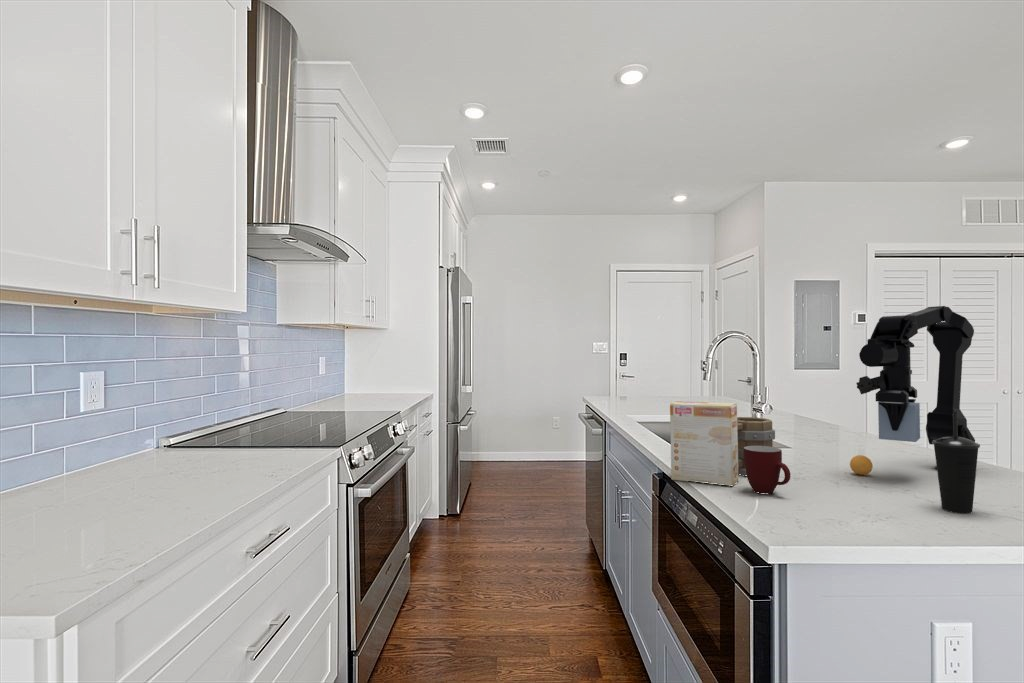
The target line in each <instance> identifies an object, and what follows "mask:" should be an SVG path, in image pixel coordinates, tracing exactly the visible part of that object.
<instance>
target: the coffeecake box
mask: <svg viewBox="0 0 1024 683" xmlns="http://www.w3.org/2000/svg"><path fill="white" fill-rule="evenodd" d="M737 417H738V404H737V403H736V402H735V403H734V402H733V403H732V402H705V401H700V402H699V401H682V400H681V401H675V402H671V403H670V404H669V420H670V423H669V424H670V425H669V426H670V427H669V428H670V429H669V430H670V469H671V470H670V471H671V472H670V473H671V474H670V475H671V476H670V478H671V480H672V481H679V482H688V481H698V482H708V483H717V484H724V485H734V484H735V483H736V482H737V481H738V482H739V475H738V433H737ZM738 482H737V483H738ZM737 483H736V484H737ZM736 484H735V485H736ZM735 485H734V486H735Z"/></svg>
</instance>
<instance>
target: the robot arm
mask: <svg viewBox="0 0 1024 683" xmlns="http://www.w3.org/2000/svg"><path fill="white" fill-rule="evenodd" d="M923 328H926V331H927V332H928V333H929V334H930V336H931V337H932V344H933V345H934V347H935V348H936V350H937V351H938V353H939V360H938V361H939V363H938V378H937V395H936V407H935V408H934V409H933V410H932V411H928V413H927V414H926V425H925V432H926V436H927V439H928V444H929V445H933V444H932V441H933V440H937V439H939V438H942V437H949V436H953V411H957V434H958V437H962V438H966V439H969V440H971V441H973V442H975V443H976V439H975V437H974V436H973V434H972V433H971V430H970V429H969V428H968V420H967V418H966V416H965V415H964V413H963V412H962V410H961V406H960V405H961V393H962V392H961V391H962V389H961V388H962V372H963V371H962V370H963V357H964V356H963V355H964V353H966V352H967V350H968V349H969V348H970V347H971V345H972V340H973V337H974V336H975V329H974V326H973V325H972V324H971V323H970V321H969V320H968V319H967V318H966V317H965V316H963V315H962V314H961V315H960V314H959V313H956V312H954V311H953V310H952V309H951V308H950V307H949V306H946V305H941V306H940V305H939V306H936V305H935V306H928V307H925V308H924V309H921V310H918V311H913V312H912V313H909V314H905V315H904V314H903V315H886V316H885V315H884V316H881V317H879V319H878V322H877V323H876V324H875V327H874V329H873V332H872V334H871V336H870V338H867V340H866V341H867V343H866V344H865V345H863V347H861V349H860V352H859V354H858V356H859V359H860V362H861V363H862V364H863V365H865V366H866V367H869V368H876V367H880V368H881V367H882V369H881V370H880V371H879V376H875V377H872V378H870V377H869V376H867V375H865V376H862V377H858V378H859V379H858V382H856V389H858V391H859V393H860V395H864V394H867V393H870V392H873V391H876V390H878V391H877V392H875V402H877V405H878V404H880V405H881V406H883V407H884V408H885V409H886V411H887V414H888V418H889V421H890V424H891V428H892V430H893V431H897V430H898V429H899V426H900V424H901V422H902V419H903V417H904V414H905V412H906V410H907V407H908V405H909V403H907V402H913V403H916V401H917V400H916V398H918V390H917V389H916V388H915V387H914V386H912V383H911V382H912V380H911V379H912V375H913V370H912V368H911V348H915V344H914V343H913V342H912V341H910V339H911V338H913V337H914V336H915V335H917V334H918V333H919V332H918V331H919V330H920V329H923ZM934 469H935V470H937V465H936V466H934Z"/></svg>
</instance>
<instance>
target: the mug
mask: <svg viewBox="0 0 1024 683" xmlns="http://www.w3.org/2000/svg"><path fill="white" fill-rule="evenodd" d="M744 463H745V469H746V474H747V476H746V477H747V482H748V484H749V485H750V487H751V488H752V489H751V490H752V491H753V492H754V491H755V492H759V493H772V494H773V493H774V491H775V489H776V488H777V486H784V485H786V484H788V483H789V482H790V480H791V472H790V468H789V467H788V466H787V464H786V463H784V462H783V452H782V448H779V447H776V446H775V447H769V446H746V447H744ZM781 469H782V470H781ZM781 471H783V473H784V477H783V480H782V481H780V475H781ZM755 492H754V493H755ZM759 493H758V494H759Z"/></svg>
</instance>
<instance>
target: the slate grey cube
mask: <svg viewBox="0 0 1024 683" xmlns="http://www.w3.org/2000/svg"><path fill="white" fill-rule="evenodd" d="M907 403H909V405H908V407H907V410H906V412H905V414H904V417H903V419H902V422H901V424H900V426H899V429H898V430H897V431H893V430H892V428H891V424H890V421H889V418H888V414H887V411H886V409H885V408H884V407H883V406H881V405H880V404H878V403H877V406H878V407H877V410H878V411H877V412H878V413H877V414H878V417H877V418H878V419H877V420H878V440H885V441H886V440H888V441H898V442H909V443H911V442H912V443H917V442H918V441H919V440H920V439H921V422H920V421H921V413H920V412H921V409H920V408H921V406H920V404H921V403H920V402H914V403H913V402H907Z"/></svg>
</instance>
